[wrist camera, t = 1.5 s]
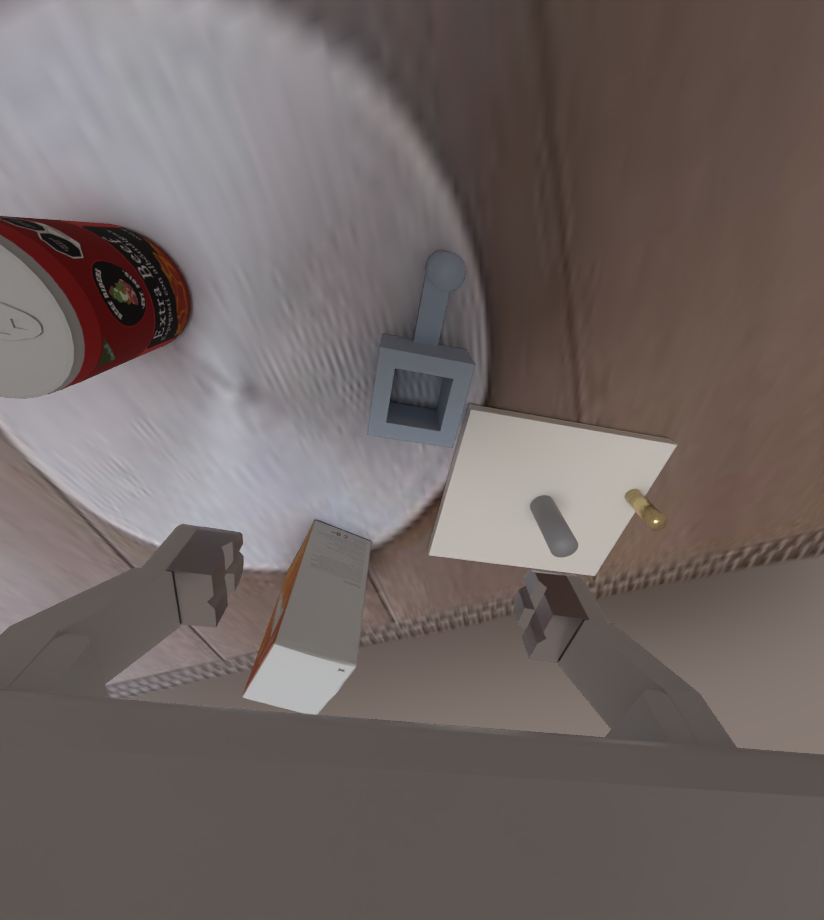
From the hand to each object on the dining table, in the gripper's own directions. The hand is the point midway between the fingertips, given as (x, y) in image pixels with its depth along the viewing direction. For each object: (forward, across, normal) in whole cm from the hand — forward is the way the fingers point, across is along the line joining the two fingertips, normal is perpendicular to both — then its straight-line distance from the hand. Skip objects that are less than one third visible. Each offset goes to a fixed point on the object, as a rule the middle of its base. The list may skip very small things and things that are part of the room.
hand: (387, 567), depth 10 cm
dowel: (+20, -23, +7) cm, 31 cm away
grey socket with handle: (+20, -2, -3) cm, 21 cm away
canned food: (+21, +19, -2) cm, 28 cm away
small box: (+22, +4, +20) cm, 30 cm away
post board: (+21, -15, +9) cm, 28 cm away
